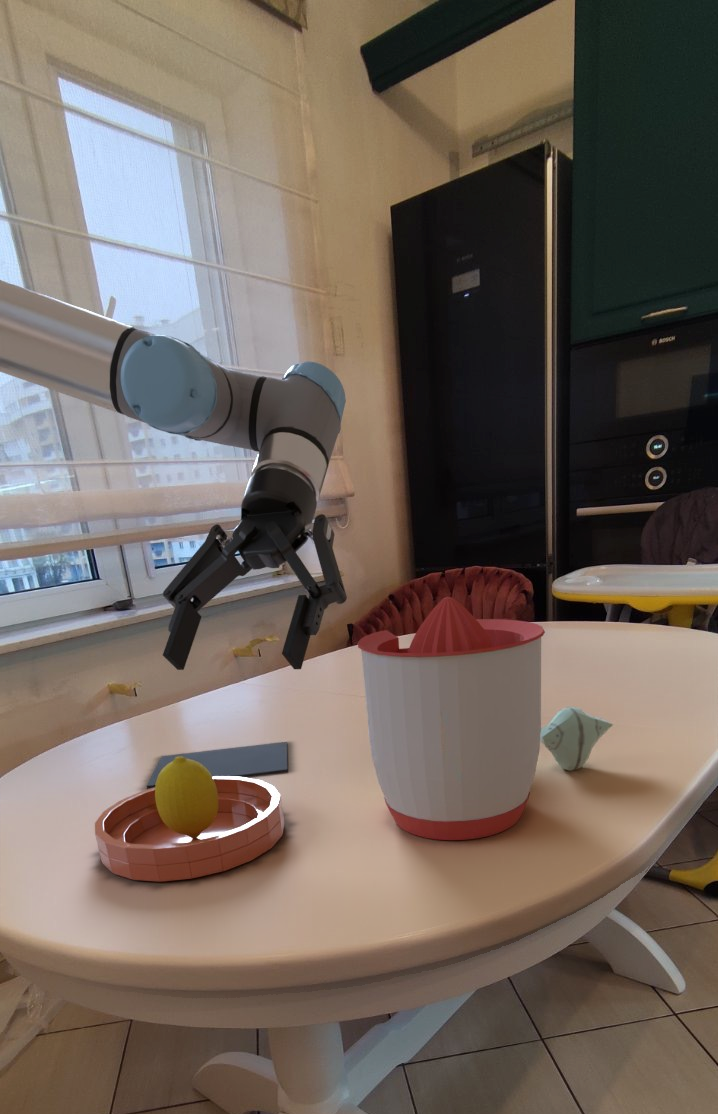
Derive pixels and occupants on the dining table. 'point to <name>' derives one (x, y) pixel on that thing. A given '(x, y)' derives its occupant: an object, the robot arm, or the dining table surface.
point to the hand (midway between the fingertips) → (229, 662)
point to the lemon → (186, 797)
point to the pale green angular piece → (572, 736)
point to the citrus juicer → (455, 721)
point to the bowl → (163, 855)
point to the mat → (235, 761)
